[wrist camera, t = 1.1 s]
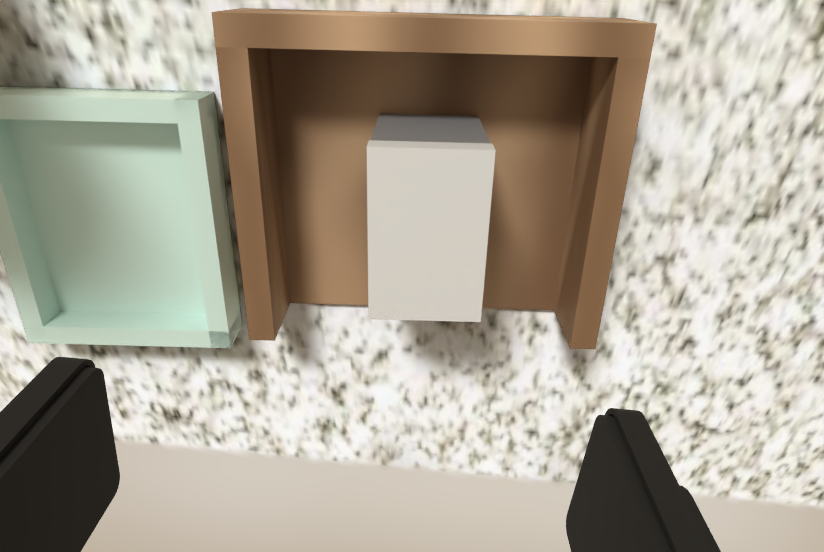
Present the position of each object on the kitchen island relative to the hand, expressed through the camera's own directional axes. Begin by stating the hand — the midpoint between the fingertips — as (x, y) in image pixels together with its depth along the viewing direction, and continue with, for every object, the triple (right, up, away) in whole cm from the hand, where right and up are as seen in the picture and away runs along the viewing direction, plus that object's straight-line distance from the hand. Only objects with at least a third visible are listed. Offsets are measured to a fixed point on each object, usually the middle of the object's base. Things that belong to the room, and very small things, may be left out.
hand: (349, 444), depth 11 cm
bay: (+2, +8, +17) cm, 19 cm away
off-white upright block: (+2, +7, +17) cm, 19 cm away
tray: (-13, +6, +18) cm, 23 cm away
